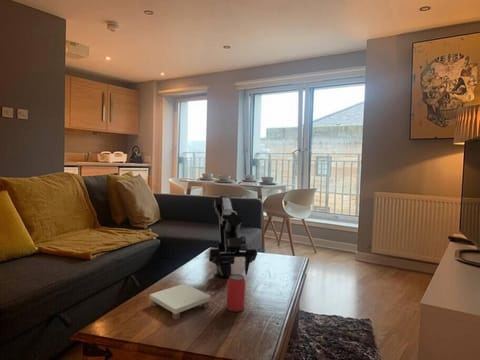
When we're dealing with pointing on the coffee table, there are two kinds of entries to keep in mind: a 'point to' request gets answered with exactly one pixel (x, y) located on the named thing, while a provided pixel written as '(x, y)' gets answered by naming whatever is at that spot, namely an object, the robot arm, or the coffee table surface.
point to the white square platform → (179, 299)
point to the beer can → (235, 292)
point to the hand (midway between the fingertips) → (234, 275)
